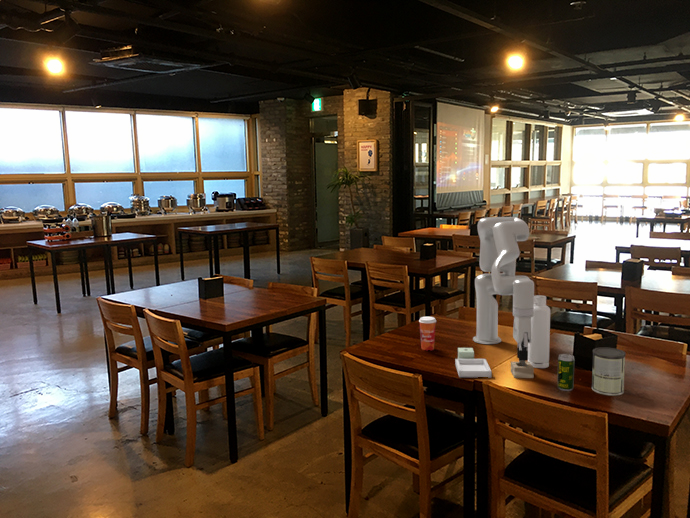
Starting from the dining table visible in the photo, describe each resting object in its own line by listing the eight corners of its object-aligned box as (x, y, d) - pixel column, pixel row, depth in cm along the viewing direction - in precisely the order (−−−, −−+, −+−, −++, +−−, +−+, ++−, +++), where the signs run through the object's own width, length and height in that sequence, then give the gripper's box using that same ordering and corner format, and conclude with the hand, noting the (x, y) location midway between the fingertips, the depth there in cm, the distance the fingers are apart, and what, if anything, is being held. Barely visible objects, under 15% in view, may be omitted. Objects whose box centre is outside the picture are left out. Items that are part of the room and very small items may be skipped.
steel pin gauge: (518, 365, 210) (518, 335, 209) (524, 365, 210) (525, 335, 209) (519, 367, 208) (520, 336, 206) (526, 367, 208) (526, 336, 206)
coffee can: (586, 385, 197) (587, 347, 195) (614, 384, 198) (615, 346, 196) (600, 396, 187) (601, 356, 185) (629, 395, 187) (631, 355, 185)
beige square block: (510, 371, 213) (510, 361, 213) (529, 371, 213) (529, 361, 212) (514, 377, 207) (514, 367, 206) (533, 378, 206) (533, 367, 205)
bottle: (523, 363, 223) (524, 295, 219) (538, 360, 226) (540, 293, 222) (537, 369, 215) (539, 299, 212) (553, 366, 218) (555, 297, 215)
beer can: (560, 384, 198) (561, 352, 197) (575, 388, 195) (576, 355, 193) (554, 389, 194) (555, 356, 193) (570, 392, 191) (571, 359, 189)
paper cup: (417, 350, 244) (416, 319, 242) (421, 345, 251) (421, 315, 249) (434, 352, 241) (434, 320, 239) (438, 347, 248) (438, 316, 246)
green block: (457, 359, 230) (457, 347, 230) (472, 359, 230) (472, 347, 229) (459, 363, 225) (459, 351, 224) (474, 364, 224) (474, 352, 223)
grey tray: (455, 364, 223) (455, 358, 223) (485, 364, 222) (485, 358, 222) (459, 377, 209) (459, 370, 208) (491, 377, 207) (491, 371, 207)
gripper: (508, 307, 215) (508, 352, 217) (517, 316, 199) (516, 365, 201) (528, 307, 214) (527, 352, 216) (538, 316, 198) (537, 366, 200)
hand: (522, 358), depth 209 cm, fingers closed on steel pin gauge, 2 cm apart
